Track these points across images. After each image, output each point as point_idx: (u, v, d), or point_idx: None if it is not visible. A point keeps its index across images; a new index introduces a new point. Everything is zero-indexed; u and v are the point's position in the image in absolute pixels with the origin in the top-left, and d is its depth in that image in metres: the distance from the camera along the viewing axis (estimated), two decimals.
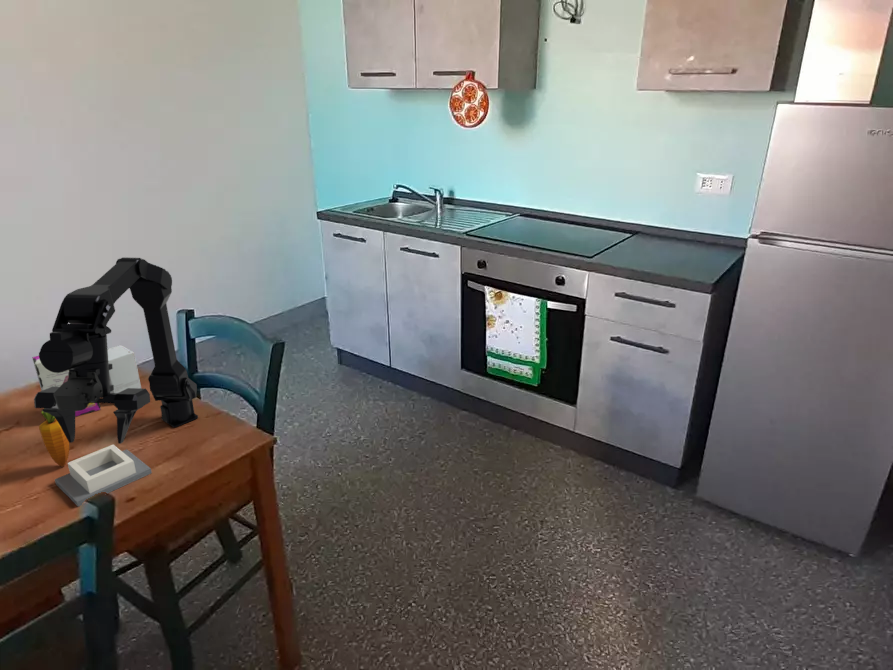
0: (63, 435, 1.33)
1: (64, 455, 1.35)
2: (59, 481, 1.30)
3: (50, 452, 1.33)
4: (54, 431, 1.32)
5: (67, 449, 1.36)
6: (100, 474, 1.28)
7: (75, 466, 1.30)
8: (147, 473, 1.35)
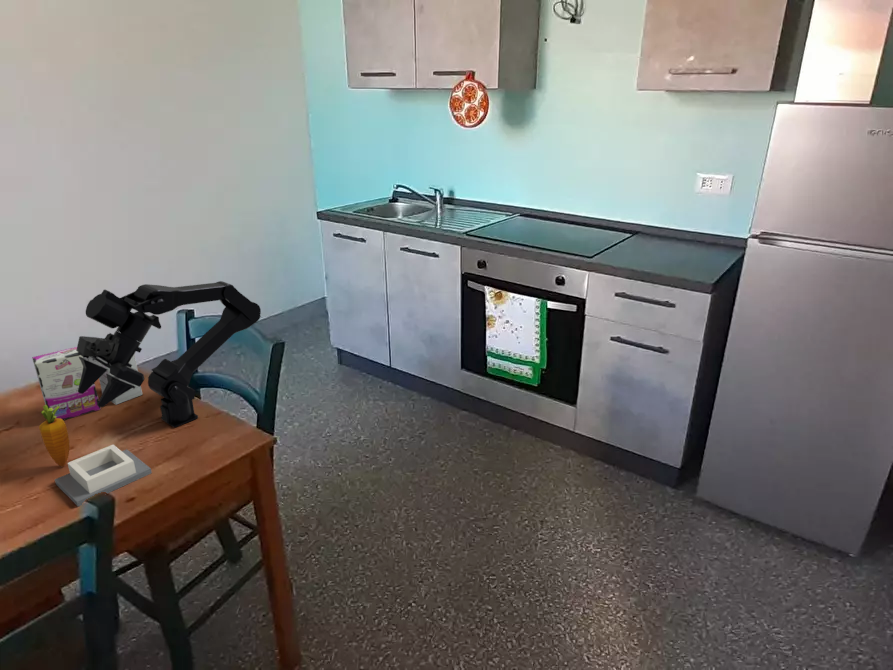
0: (63, 435, 1.33)
1: (64, 455, 1.35)
2: (59, 481, 1.30)
3: (50, 452, 1.33)
4: (54, 431, 1.32)
5: (67, 449, 1.36)
6: (100, 474, 1.28)
7: (75, 466, 1.30)
8: (147, 473, 1.35)
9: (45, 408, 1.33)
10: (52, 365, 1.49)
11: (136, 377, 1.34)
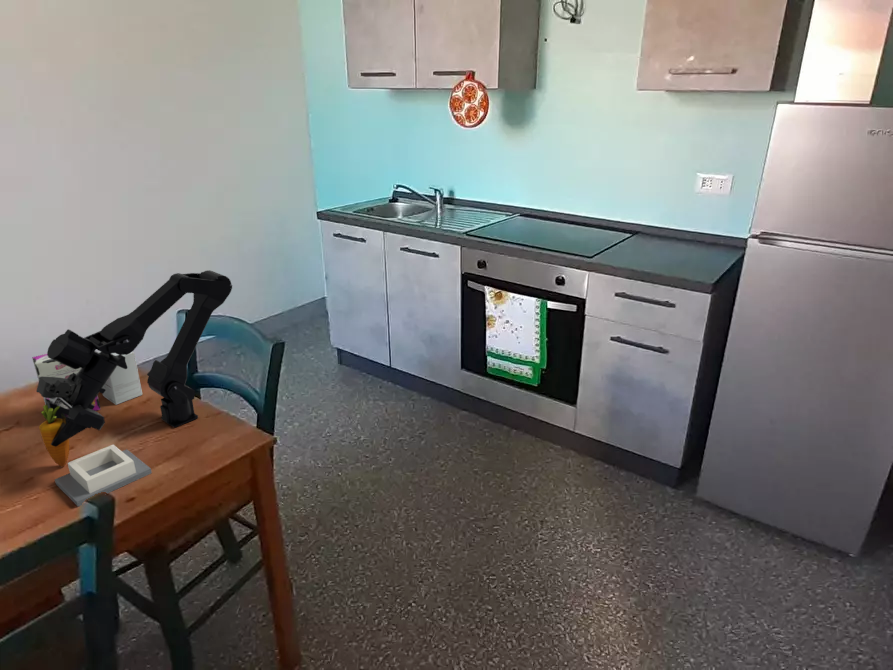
0: None
1: (64, 455, 1.35)
2: (59, 481, 1.30)
3: (50, 452, 1.33)
4: (54, 431, 1.32)
5: (67, 449, 1.36)
6: (100, 474, 1.28)
7: (75, 466, 1.30)
8: (147, 473, 1.35)
9: (45, 408, 1.32)
10: (52, 365, 1.49)
11: (96, 420, 1.31)
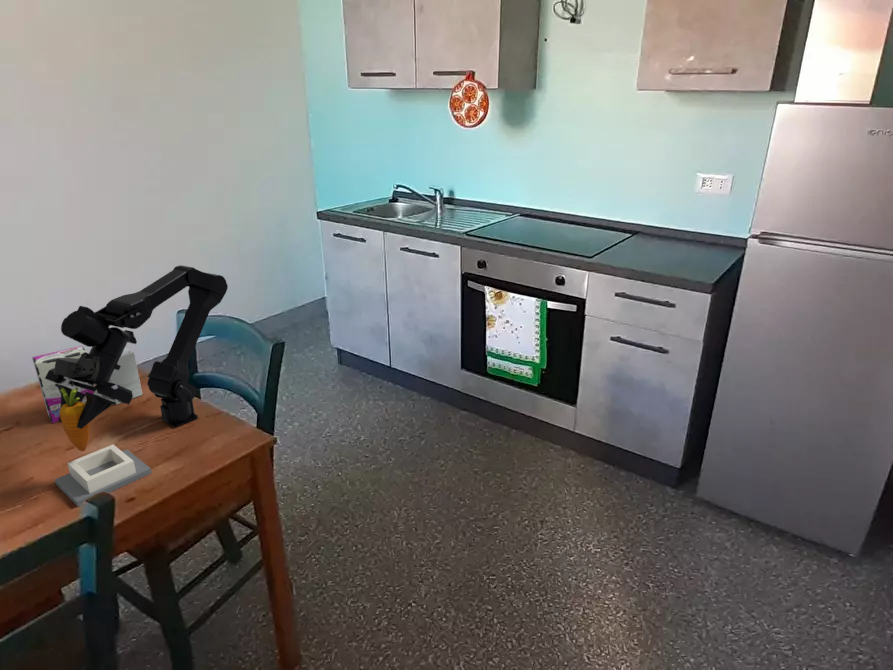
0: None
1: (87, 438, 1.30)
2: (59, 481, 1.30)
3: (73, 436, 1.28)
4: (79, 413, 1.27)
5: (89, 432, 1.31)
6: (100, 474, 1.28)
7: (75, 466, 1.30)
8: (147, 473, 1.35)
9: (63, 391, 1.27)
10: (52, 365, 1.49)
11: (126, 394, 1.28)
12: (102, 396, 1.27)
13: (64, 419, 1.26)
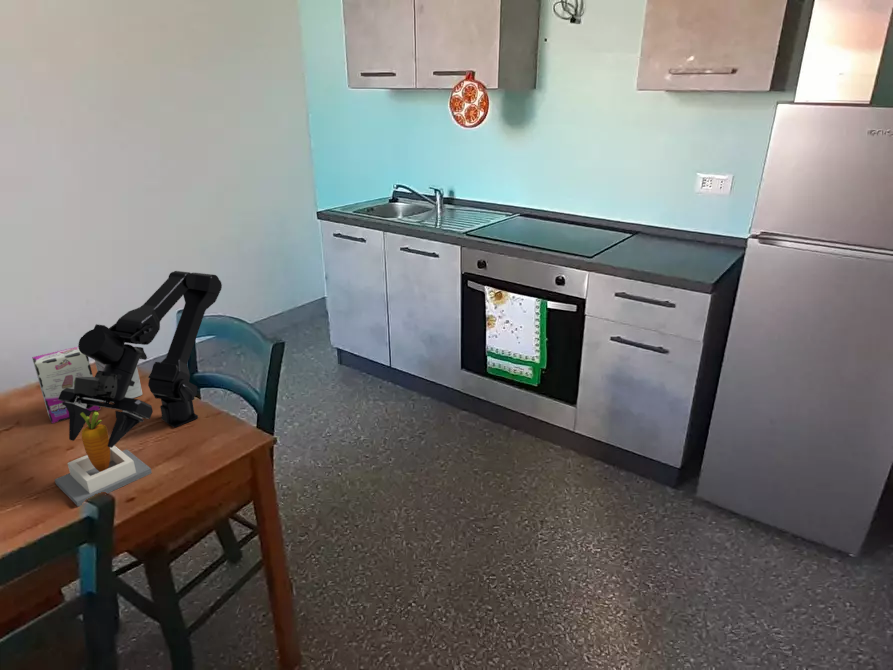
0: (108, 438, 1.31)
1: (109, 459, 1.32)
2: (59, 481, 1.30)
3: (97, 459, 1.30)
4: (102, 435, 1.28)
5: None
6: (100, 474, 1.28)
7: (75, 466, 1.30)
8: (147, 473, 1.35)
9: (84, 415, 1.28)
10: (52, 365, 1.49)
11: (147, 409, 1.30)
12: (132, 414, 1.28)
13: (87, 442, 1.28)
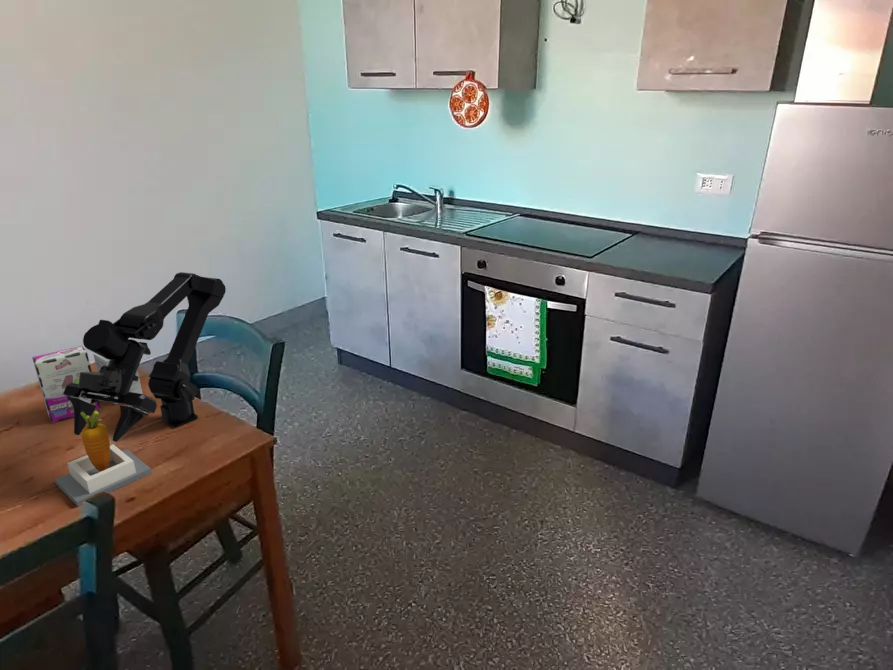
0: (108, 438, 1.31)
1: (109, 459, 1.32)
2: (59, 481, 1.30)
3: (97, 458, 1.30)
4: (102, 434, 1.29)
5: None
6: (100, 474, 1.28)
7: (75, 466, 1.30)
8: (147, 473, 1.35)
9: (84, 414, 1.28)
10: (52, 365, 1.49)
11: (152, 403, 1.31)
12: (137, 408, 1.29)
13: (87, 442, 1.28)
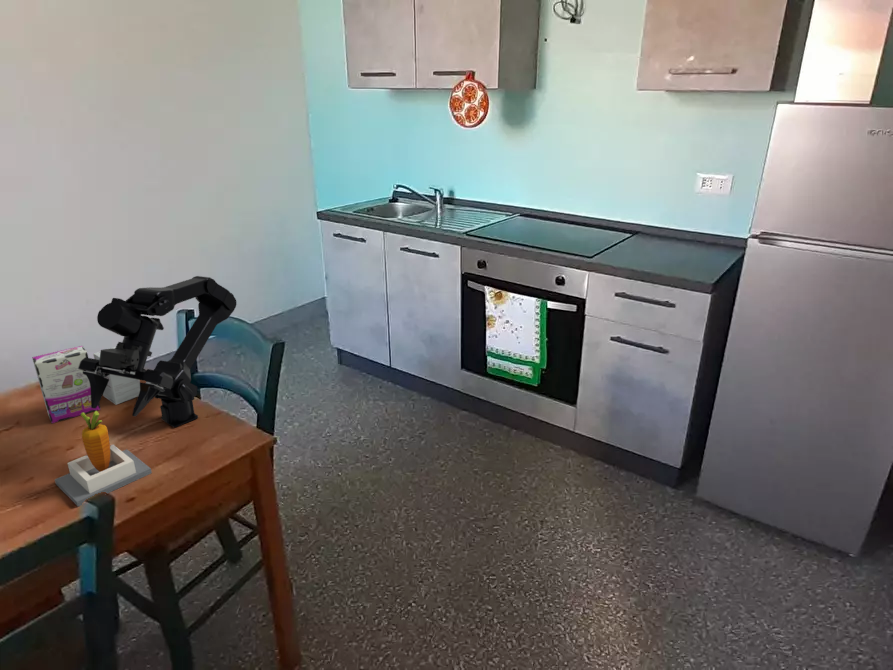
0: (108, 438, 1.30)
1: (109, 459, 1.32)
2: (59, 481, 1.30)
3: (97, 459, 1.30)
4: (102, 435, 1.28)
5: None
6: (100, 474, 1.28)
7: (75, 466, 1.30)
8: (147, 473, 1.35)
9: (84, 415, 1.28)
10: (52, 365, 1.49)
11: (169, 380, 1.37)
12: (156, 385, 1.35)
13: (88, 443, 1.28)
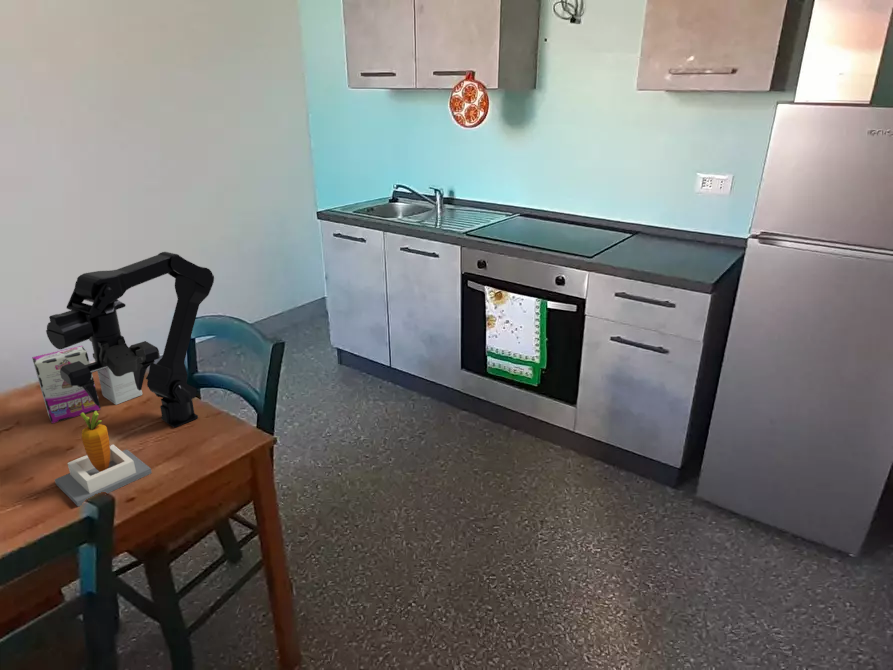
0: (108, 438, 1.30)
1: (109, 459, 1.32)
2: (59, 481, 1.30)
3: (97, 459, 1.30)
4: (102, 435, 1.28)
5: None
6: (100, 474, 1.28)
7: (75, 466, 1.30)
8: (147, 473, 1.35)
9: (84, 415, 1.28)
10: (52, 365, 1.49)
11: None
12: None
13: (87, 443, 1.27)
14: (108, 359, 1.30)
